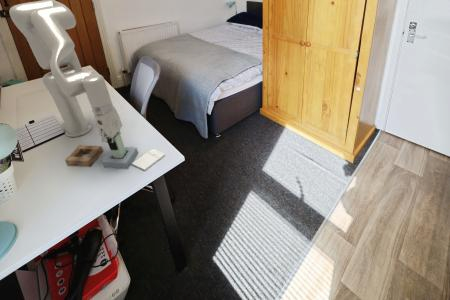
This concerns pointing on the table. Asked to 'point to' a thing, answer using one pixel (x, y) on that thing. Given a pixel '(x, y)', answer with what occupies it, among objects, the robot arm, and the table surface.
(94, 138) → the table surface
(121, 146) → the plug
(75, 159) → the socket
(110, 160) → the socket
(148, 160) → the external hard drive
